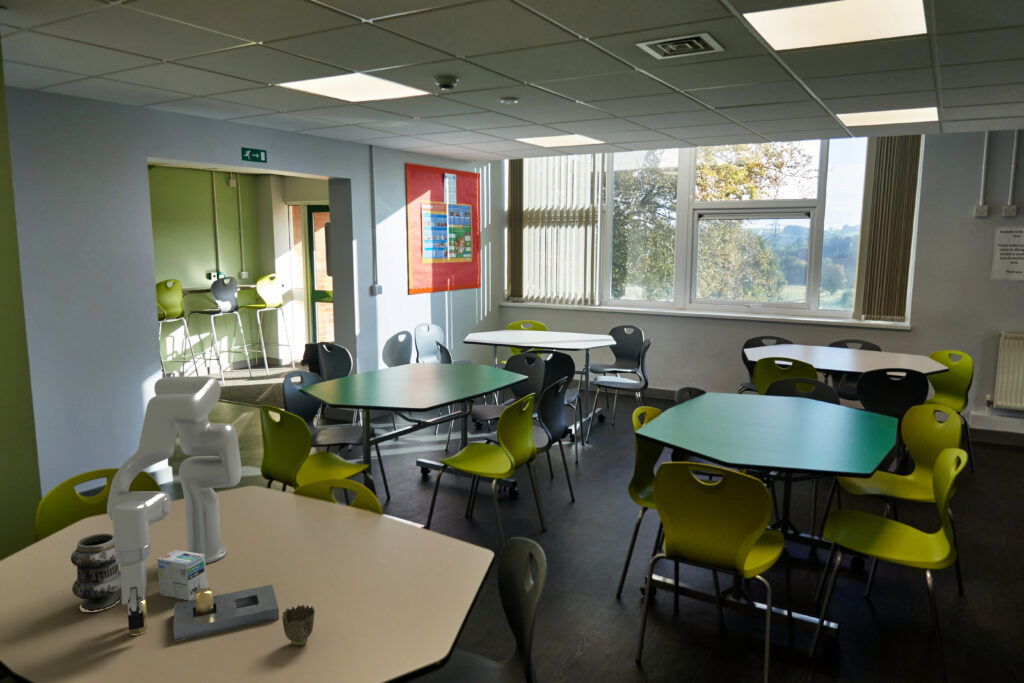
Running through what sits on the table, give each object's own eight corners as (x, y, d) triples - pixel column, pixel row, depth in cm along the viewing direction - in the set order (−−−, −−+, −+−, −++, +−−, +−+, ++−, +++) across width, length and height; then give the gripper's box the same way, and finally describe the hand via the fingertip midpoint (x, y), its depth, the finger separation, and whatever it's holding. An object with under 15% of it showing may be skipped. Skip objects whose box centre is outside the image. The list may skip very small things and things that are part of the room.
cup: (287, 636, 166) (286, 605, 165) (318, 634, 167) (317, 603, 166) (279, 653, 159) (278, 621, 158) (312, 651, 159) (310, 619, 158)
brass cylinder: (130, 629, 169) (127, 599, 168) (148, 625, 171) (146, 595, 170) (128, 637, 166) (126, 606, 165) (147, 633, 167) (145, 602, 166)
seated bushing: (196, 619, 174) (194, 589, 173) (213, 615, 176) (211, 586, 175) (196, 627, 170) (195, 596, 169) (214, 623, 172) (212, 593, 171)
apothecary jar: (115, 613, 177) (110, 547, 175) (65, 617, 175) (59, 550, 173) (133, 591, 189) (129, 528, 187) (86, 594, 187) (81, 531, 185)
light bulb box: (208, 590, 189) (206, 553, 188) (189, 602, 183) (187, 563, 182) (178, 584, 193) (175, 548, 191) (158, 595, 186) (156, 558, 185)
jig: (175, 614, 176) (174, 603, 176) (272, 594, 186) (272, 584, 186) (174, 641, 164) (173, 630, 163) (279, 619, 174) (278, 607, 174)
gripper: (118, 542, 172) (123, 606, 174) (111, 570, 156) (117, 640, 159) (151, 536, 175) (156, 599, 177) (148, 563, 160) (153, 632, 162)
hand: (137, 618), depth 168 cm, fingers open, 9 cm apart
